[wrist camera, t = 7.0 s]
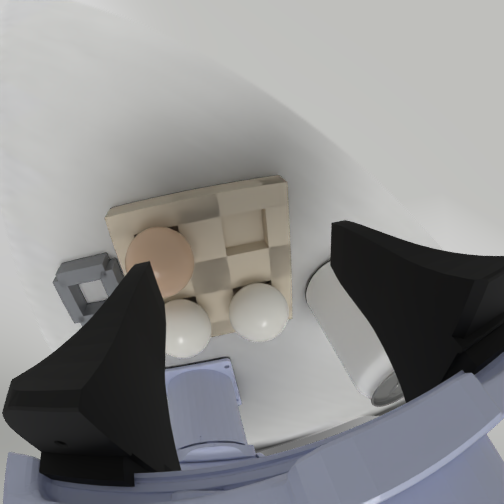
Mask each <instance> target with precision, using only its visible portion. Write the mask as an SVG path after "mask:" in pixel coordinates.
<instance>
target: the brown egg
mask: <svg viewBox="0 0 504 504" xmlns="http://www.w3.org/2000/svg"><path fill="white" fill-rule="evenodd" d="M147 261H150V263H151V266H152V269H153V272H154V275H155V278H156V281H157V284H158V286H159V289H160V292H161V295H162V297H163V298H166V297H170V296H173V295H175V294H177V293H179V292H180V291H181V290H182V289H184V288H185V287H186V285H187V284H188V283H189V281H190V279H191V277H192V274H193V271H194V254H193V251H192V248H191V246H190V244H189V243H188V241H187V240H186V239H185V238H184V237H183V236H182V235H181V234H180V233H178V232H177V231H175V230H173V229H170V228H167V227H152V228H149V229H146V230H144V231H142V232H141V233H139V234H138V235H137V236H136V237H135V238H134V239H133V240H132V241H131V243H130V245H129V247H128V249H127V252H126V256H125V269H126V273H128V272H129V270H130V269H131V268H132V267H133V266H134V265H135V264H138V263H143V262H147Z"/></svg>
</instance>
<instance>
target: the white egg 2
mask: <svg viewBox="0 0 504 504" xmlns="http://www.w3.org/2000/svg"><path fill="white" fill-rule="evenodd" d="M288 317H289V308H288V304H287V301H286V299H285V297H284V296H283V294H282V293H281V292H280V291H279V290H278V289H276V288H275V287H273V286H271V285H268V284H264V283H254V284H249V285H247V286H245V287H243V288H242V289H240V290H239V291H238V292H237V293H236V294H235V295H234V297H233V299H232V301H231V303H230V307H229V319H230V322H231V325H232V327H233V329H234V330H235V331H236V333H237V334H238V335H240V336H241V337H242V338H244V339H246V340H248V341H252V342H266V341H269V340H272V339H274V338H275V337H277V336H278V335H279V334H280V333H281V332H282V331H283V329H284V328H285V326H286V324H287V321H288Z"/></svg>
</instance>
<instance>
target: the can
mask: <svg viewBox="0 0 504 504" xmlns="http://www.w3.org/2000/svg"><path fill="white" fill-rule="evenodd" d="M330 262H331V261H329V262H327V263H326V264H324V265H323V266H322V267H321V268H319V269H318V270H317V272H316V273H315V274H314V275H313V277H312V279H311V280H310V282H309V285H308V287H307V291H306V300H307V303H308V305H309V307H310V309H311V311H312V312H313V314H314V316H315V318H316V319H317V321H318V323H319V325H320V326H321V328H322V330H323V332H324V333H325V335H326V337H327V338H328V340H329V342H330V344H331V345H332V347H333V349H334V351H335V352H336V354H337V356H338V358H339V359H340V361H341V363H342V365H343V366H344V368H345V370H346V371H347V373H348V375H349V377H350V378H351V380H352V382H353V384H354V385H355V387H356V388H357V390H358V391H359V392H360V393H361V394H362V395H364V396H366V397H367V398H369V399H371V403H372V405H374V406H377V407H381V406H386V405H389V404H392V403H394V402H396V401H398V400H400V399H402V398H403V397H404V395H403V392H402V389H401V386H400V384H399V381H398V379H397V376H396V374H395V371H394V369H393V367H392V364H391V362H390V360H389V358H388V356H387V354H386V352H385V350H384V348H383V346H382V344H381V342H380V340H379V339H378V337H377V335H376V333H375V331H374V329H373V328H372V326H371V325H370V323H369V322H368V320H367V319H366V318H365V316H364V315H363V314H362V312H361V311H360V310H359V308H358V307H357V306H356V304H355V303H354V302H353V300H352V299H351V298H350V296H349V295H348V294H347V292H346V291H345V290H344V288H343V287H342V285H341V284H340V282H339V281H338V279H337V277H336V275H335V273H334V271H333V270H332V268H331V266H330Z"/></svg>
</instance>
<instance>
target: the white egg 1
mask: <svg viewBox="0 0 504 504" xmlns="http://www.w3.org/2000/svg"><path fill="white" fill-rule="evenodd" d="M165 313H166V348H165V353H166V354H168V355H170V356H172V357H175V358H190V357H193V356H196V355H197V354H199V353H200V352H202V351H203V350H204V349H205V347H206V346H207V344H208V343H209V340H210V337H211V322H210V319H209V317H208V315H207V313H206V312H205V310H204V309H203V308H202V307H201V306H199V305H198V304H197V303H195V302H192V301H190V300H186V299H176V300H172V301H169V302H167V303H165Z"/></svg>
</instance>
